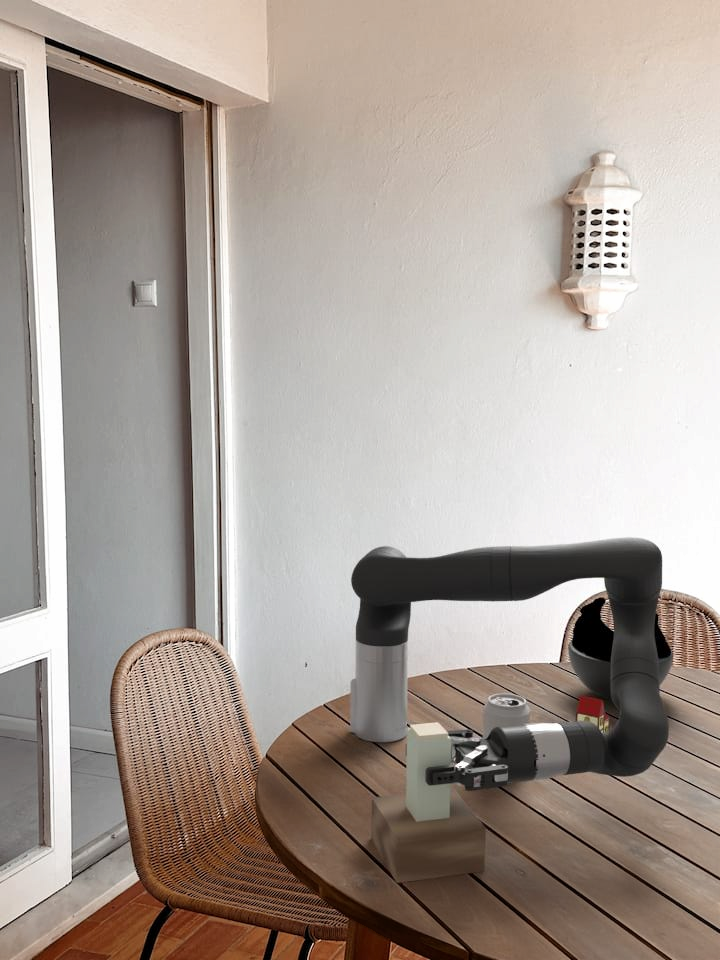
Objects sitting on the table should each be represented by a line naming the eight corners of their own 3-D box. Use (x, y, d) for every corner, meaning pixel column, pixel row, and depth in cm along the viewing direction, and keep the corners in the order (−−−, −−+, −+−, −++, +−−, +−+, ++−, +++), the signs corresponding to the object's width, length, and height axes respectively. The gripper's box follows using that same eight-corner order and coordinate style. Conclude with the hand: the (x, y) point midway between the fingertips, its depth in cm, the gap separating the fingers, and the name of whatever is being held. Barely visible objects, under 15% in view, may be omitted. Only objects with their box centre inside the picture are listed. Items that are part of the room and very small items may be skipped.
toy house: (574, 745, 172) (575, 700, 171) (576, 731, 179) (578, 688, 178) (608, 748, 171) (610, 703, 170) (609, 735, 177) (611, 691, 176)
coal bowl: (684, 717, 185) (689, 619, 183) (577, 715, 185) (581, 617, 183) (654, 681, 205) (658, 593, 203) (557, 680, 205) (560, 592, 203)
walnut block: (371, 838, 138) (371, 797, 137) (452, 828, 141) (453, 788, 140) (396, 882, 126) (397, 838, 125) (484, 871, 129) (485, 827, 128)
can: (527, 781, 157) (529, 708, 155) (480, 777, 158) (481, 704, 157) (529, 762, 164) (531, 692, 162) (483, 758, 165) (485, 689, 164)
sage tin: (405, 806, 134) (407, 724, 133) (437, 802, 135) (439, 721, 134) (416, 821, 130) (417, 737, 128) (449, 817, 131) (451, 733, 130)
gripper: (508, 707, 142) (400, 717, 138) (552, 745, 128) (434, 757, 124) (507, 757, 143) (399, 768, 139) (550, 800, 129) (433, 814, 125)
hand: (416, 763), depth 131 cm, fingers open, 8 cm apart
